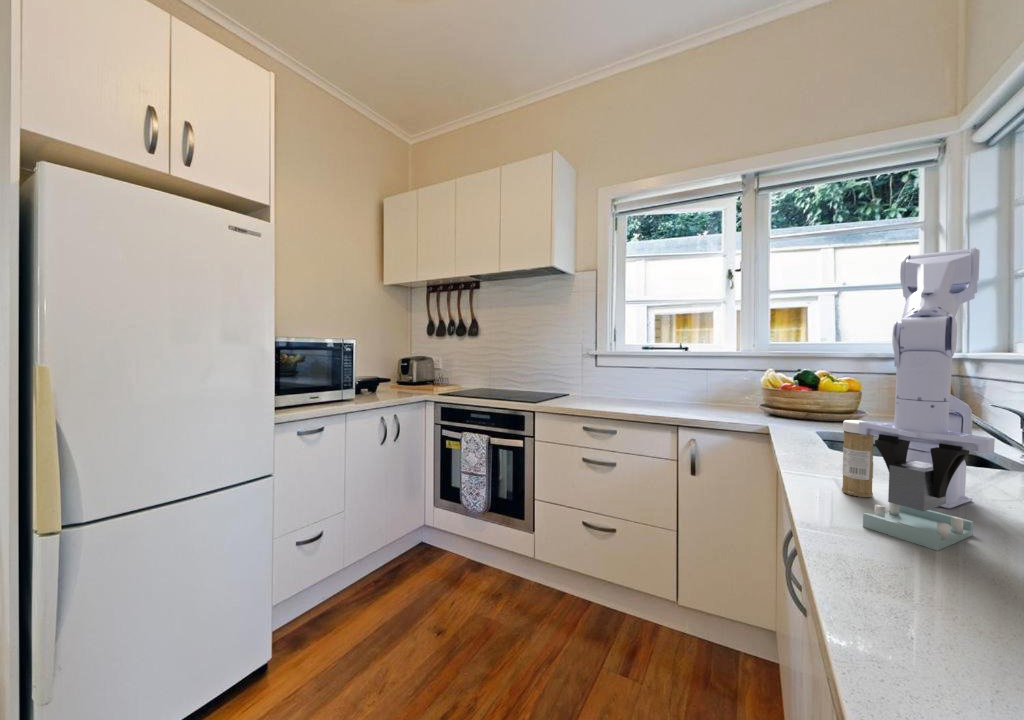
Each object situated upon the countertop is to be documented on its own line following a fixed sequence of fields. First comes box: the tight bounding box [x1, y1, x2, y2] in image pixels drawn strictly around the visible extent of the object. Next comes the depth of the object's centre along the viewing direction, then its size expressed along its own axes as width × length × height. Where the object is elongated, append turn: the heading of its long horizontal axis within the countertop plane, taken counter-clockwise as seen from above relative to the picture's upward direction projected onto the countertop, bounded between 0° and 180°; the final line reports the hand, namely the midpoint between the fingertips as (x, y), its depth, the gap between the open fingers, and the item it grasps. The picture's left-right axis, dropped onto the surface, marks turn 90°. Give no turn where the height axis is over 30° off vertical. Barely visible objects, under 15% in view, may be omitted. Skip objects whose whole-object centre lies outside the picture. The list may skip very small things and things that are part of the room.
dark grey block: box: [887, 460, 947, 511], centre depth 63 cm, size 7×4×6 cm, turn 116°
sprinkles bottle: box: [841, 419, 875, 498], centre depth 79 cm, size 5×5×13 cm
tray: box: [862, 502, 974, 552], centre depth 63 cm, size 11×8×3 cm
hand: (918, 491), depth 63 cm, fingers closed on dark grey block, 4 cm apart
